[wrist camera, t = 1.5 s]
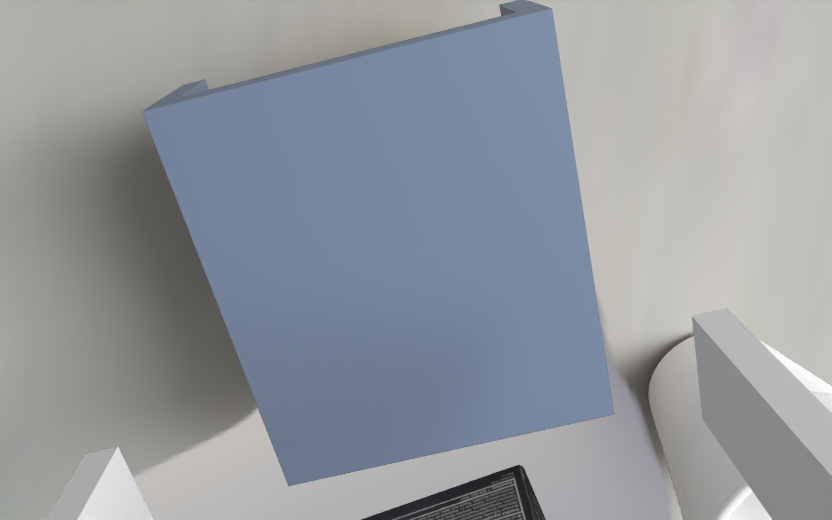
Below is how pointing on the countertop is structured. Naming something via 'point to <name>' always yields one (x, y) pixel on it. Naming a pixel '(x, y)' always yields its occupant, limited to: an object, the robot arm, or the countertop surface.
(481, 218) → the lid
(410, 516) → the small box
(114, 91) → the countertop surface
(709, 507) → the cup
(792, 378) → the robot arm
